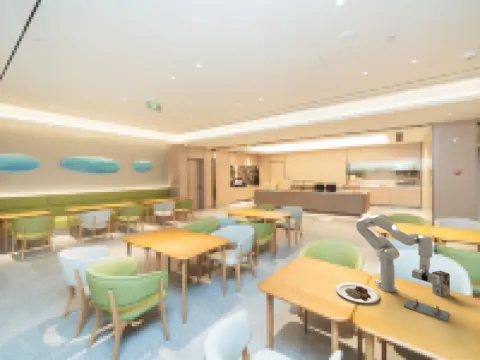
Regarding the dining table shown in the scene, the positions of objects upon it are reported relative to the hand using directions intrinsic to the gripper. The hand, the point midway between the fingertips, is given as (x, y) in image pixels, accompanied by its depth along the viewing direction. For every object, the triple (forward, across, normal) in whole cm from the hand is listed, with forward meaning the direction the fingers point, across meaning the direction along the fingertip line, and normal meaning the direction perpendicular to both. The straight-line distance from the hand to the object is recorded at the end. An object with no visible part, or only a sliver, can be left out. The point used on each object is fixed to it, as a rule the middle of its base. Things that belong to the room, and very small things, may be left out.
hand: (425, 278), depth 159 cm
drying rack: (+17, +10, +2) cm, 20 cm away
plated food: (+18, +20, -39) cm, 47 cm away
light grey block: (+1, 0, 0) cm, 1 cm away
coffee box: (+18, -24, +6) cm, 30 cm away
